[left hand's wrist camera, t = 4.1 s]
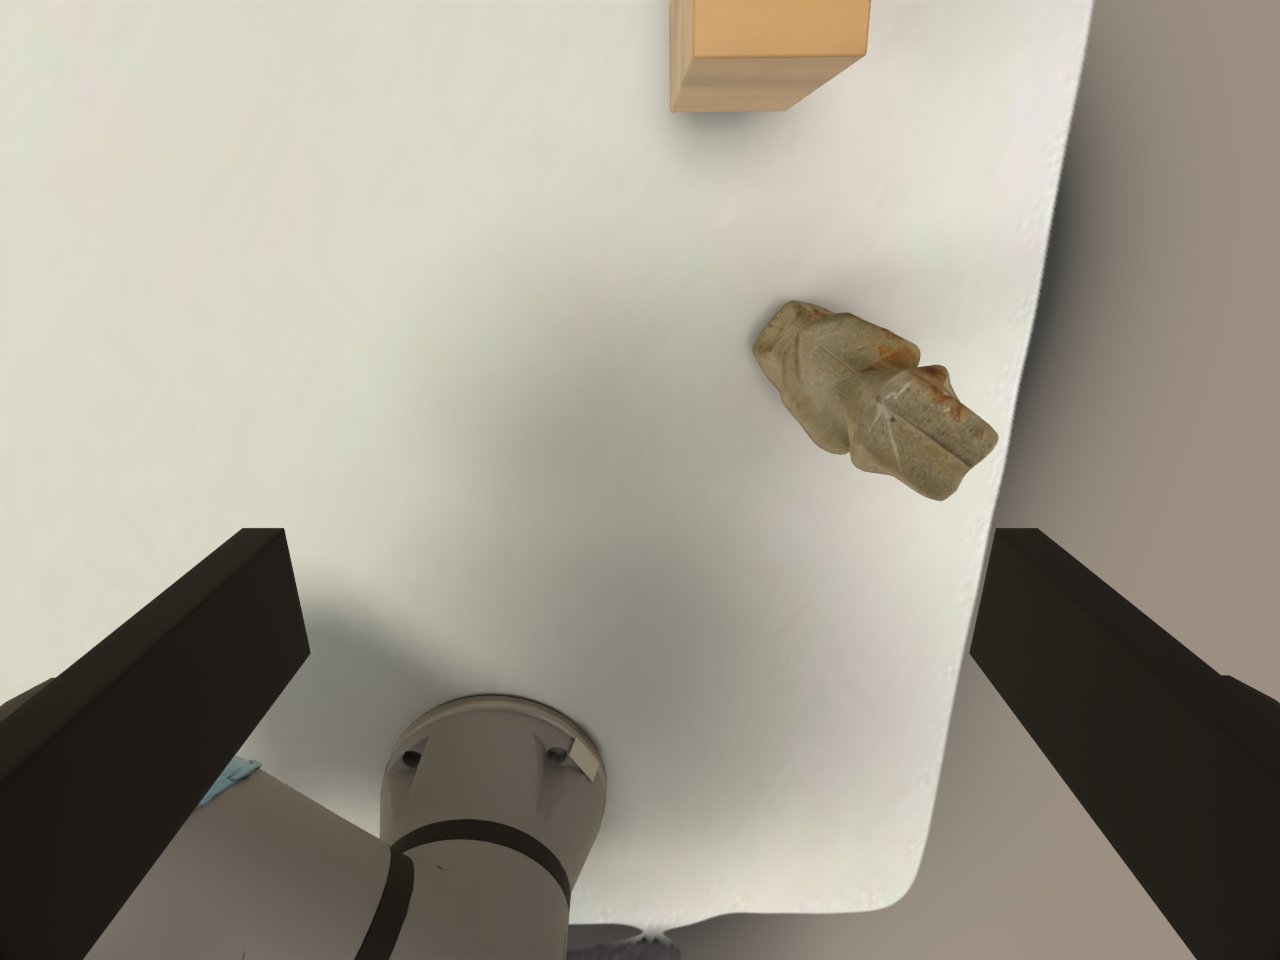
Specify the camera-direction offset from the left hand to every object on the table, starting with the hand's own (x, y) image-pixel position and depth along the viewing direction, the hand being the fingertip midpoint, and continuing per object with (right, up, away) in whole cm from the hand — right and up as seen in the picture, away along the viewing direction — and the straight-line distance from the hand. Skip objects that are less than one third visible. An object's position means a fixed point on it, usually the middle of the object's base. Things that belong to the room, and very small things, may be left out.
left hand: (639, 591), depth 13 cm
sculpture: (+9, +9, +26) cm, 29 cm away
